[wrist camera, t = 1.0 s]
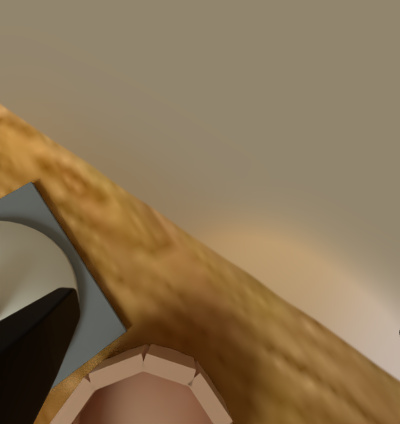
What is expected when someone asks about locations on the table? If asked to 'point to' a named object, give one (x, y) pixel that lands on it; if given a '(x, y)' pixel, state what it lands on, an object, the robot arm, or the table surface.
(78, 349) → the mat
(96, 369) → the bowl
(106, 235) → the table surface
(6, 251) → the lid
